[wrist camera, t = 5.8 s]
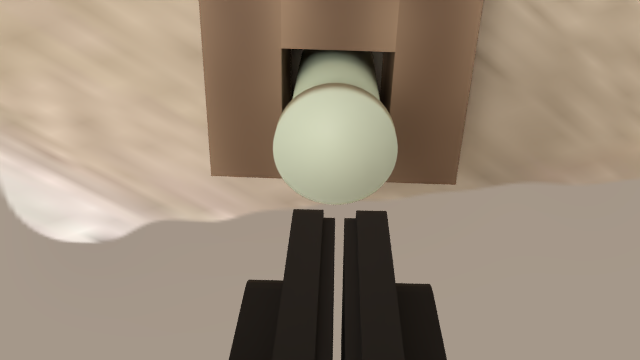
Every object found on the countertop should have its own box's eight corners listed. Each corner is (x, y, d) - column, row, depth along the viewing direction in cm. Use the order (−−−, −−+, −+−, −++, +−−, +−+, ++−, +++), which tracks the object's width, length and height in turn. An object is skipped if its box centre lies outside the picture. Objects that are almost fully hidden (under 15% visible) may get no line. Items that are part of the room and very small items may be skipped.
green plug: (384, 23, 31) (403, 94, 22) (378, 109, 33) (392, 206, 24) (292, 20, 31) (271, 89, 22) (292, 106, 33) (273, 202, 24)
